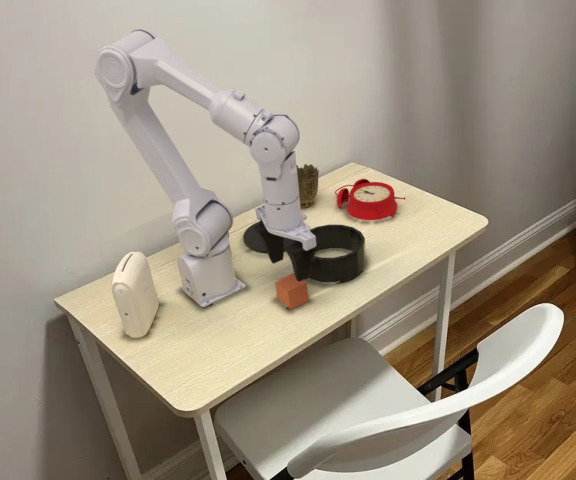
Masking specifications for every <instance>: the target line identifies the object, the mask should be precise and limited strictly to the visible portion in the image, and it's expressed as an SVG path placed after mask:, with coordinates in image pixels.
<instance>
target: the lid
mask: <svg viewBox="0 0 576 480" xmlns="http://www.w3.org/2000/svg"><path fill="white" fill-rule="evenodd" d="M260 222H261V221H260V220H258V221H257V222H254V223H253V224H251V225H250V226H248V228H246V229H245V230H244V233H243V237H242V240H243V243H244V245H245V246H246V247H247V248H248V249H249V250H251V251H253V252H256V253H261V254H268V253H267V251H266V248H265V246H264V244H263V242H262V240H261V239H260V237H259V236H258V234H257V233H256V232H255V231H254V227H255V226H256V225H258V224H260ZM292 244H295V240H293V239H289V238H285V237H284V238H283V248H285V247H287V246H289V245H292ZM284 253H287V252H286V251H285V249H284Z"/></svg>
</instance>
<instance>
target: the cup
mask: <svg viewBox="0 0 576 480" xmlns="http://www.w3.org/2000/svg"><path fill="white" fill-rule="evenodd" d="M296 166H297V176H298V186H299V197H300V208H301V209H307V208H310V207H311V206H312V204H313V200H314V199H315V198H316V196H317V194H318V189H319V173H320V171H319V170H320V169H318V167H317V166H314V165H313V164H309V165H308V164H306V163H305V164H304V165H303V167H299V166H298V164H296Z"/></svg>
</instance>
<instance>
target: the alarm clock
mask: <svg viewBox="0 0 576 480" xmlns="http://www.w3.org/2000/svg"><path fill="white" fill-rule="evenodd" d="M346 187H347V188H346ZM348 187H352V188H351V189H350V191H349V189H348ZM337 192H338V193H337ZM334 194H335V195H336V196H335V197H336V204H337V207H338V208H339V209H343V207H342V204H343V203H348V204H347V206H346V212H347V214H349V216H351V217H353V218H355V219H357V220H362V221H379V220H383V219H386V218H388V217H391V218H395V216H394V214H395V213H396V212H397V210H398V203H397V202H396V200H405V201H406V197H405V196H404V197H399V196H395V190H394V188H393V187H392V185H390V184H388V183H385V182H381V181H370V180H368V179H367V178H359V179H357V180H356V181H355V182H354V183H353V184H346V185H343V186H340V187H337V189H336V190H335V191H334Z"/></svg>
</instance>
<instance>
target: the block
mask: <svg viewBox="0 0 576 480" xmlns="http://www.w3.org/2000/svg"><path fill="white" fill-rule="evenodd" d="M274 282H275V292H276V298H277V299H278V300H279V301H281V302H282V304H284V305H286V308H287V309H288V310H290V311H291V310H294V309H295V308H297V307H300V306H301V305H303V304H306V303H308V302H309V294H308V282H307V281H306V280H305V279H304V280H302V281H300V282H299V281H297V280H296V277H295V274H294V272H293V273H291V274H289V275H287V276H285V277H283V278H280V279H278V280H276V281H274Z"/></svg>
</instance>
